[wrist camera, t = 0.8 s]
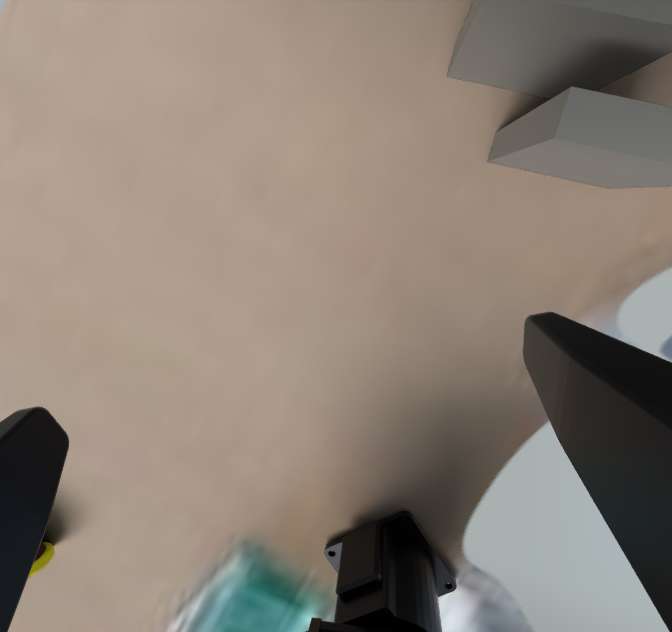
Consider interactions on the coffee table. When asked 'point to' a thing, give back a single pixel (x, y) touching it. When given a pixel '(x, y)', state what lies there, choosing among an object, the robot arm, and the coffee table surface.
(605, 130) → the domino
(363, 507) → the coffee table surface
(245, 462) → the coffee table surface
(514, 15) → the domino
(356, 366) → the coffee table surface
